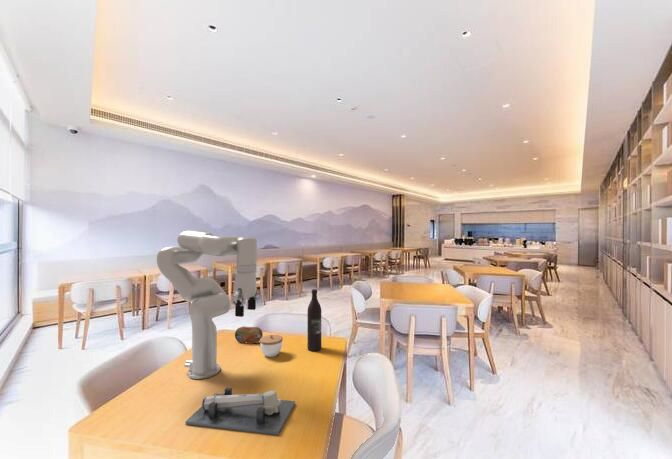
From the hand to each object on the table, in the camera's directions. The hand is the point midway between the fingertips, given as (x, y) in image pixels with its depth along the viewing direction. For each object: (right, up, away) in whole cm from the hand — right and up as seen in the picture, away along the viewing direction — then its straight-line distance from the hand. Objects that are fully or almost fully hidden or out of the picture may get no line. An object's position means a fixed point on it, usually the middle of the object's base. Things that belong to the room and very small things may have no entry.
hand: (245, 312), depth 115 cm
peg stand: (+5, -28, -19) cm, 34 cm away
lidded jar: (+4, -28, +28) cm, 40 cm away
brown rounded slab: (-12, -29, +44) cm, 54 cm away
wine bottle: (+24, -28, +35) cm, 51 cm away
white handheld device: (+5, -27, -19) cm, 33 cm away
